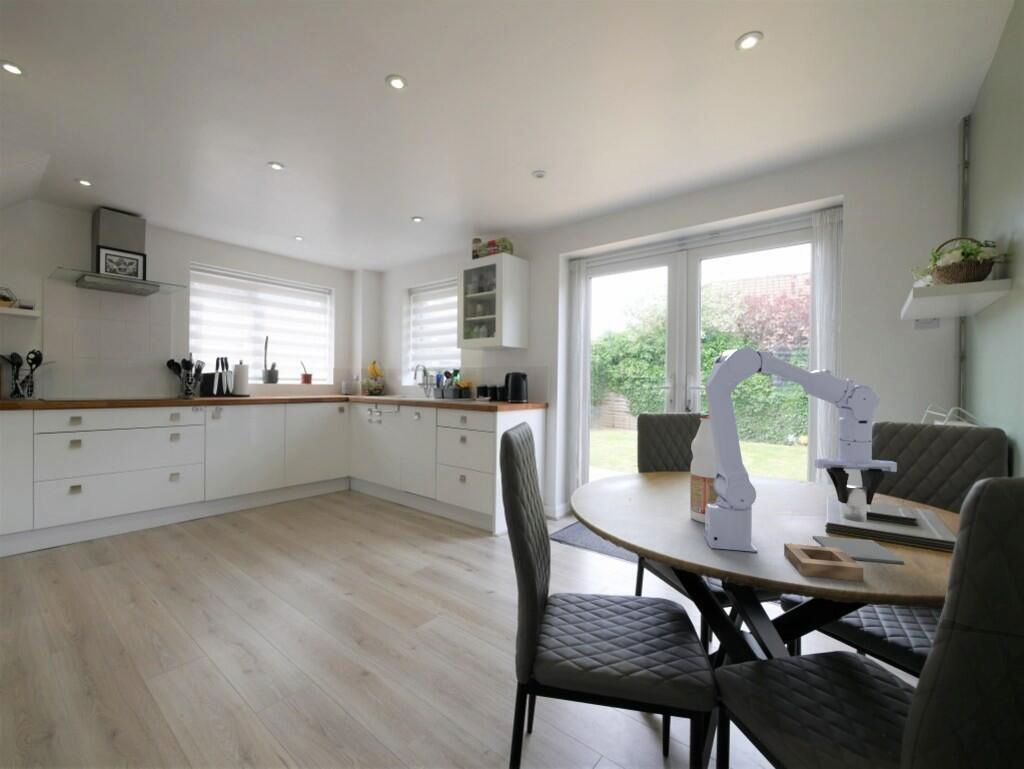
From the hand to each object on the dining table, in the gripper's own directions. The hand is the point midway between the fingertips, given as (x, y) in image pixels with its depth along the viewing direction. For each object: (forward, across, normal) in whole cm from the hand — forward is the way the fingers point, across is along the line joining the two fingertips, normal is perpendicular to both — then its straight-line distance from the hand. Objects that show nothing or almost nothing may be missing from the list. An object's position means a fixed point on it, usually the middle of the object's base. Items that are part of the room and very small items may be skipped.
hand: (854, 502), depth 97 cm
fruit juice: (+11, -27, +16) cm, 33 cm away
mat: (+10, 0, +1) cm, 11 cm away
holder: (+10, -10, -12) cm, 19 cm away
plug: (+3, 0, 0) cm, 4 cm away
